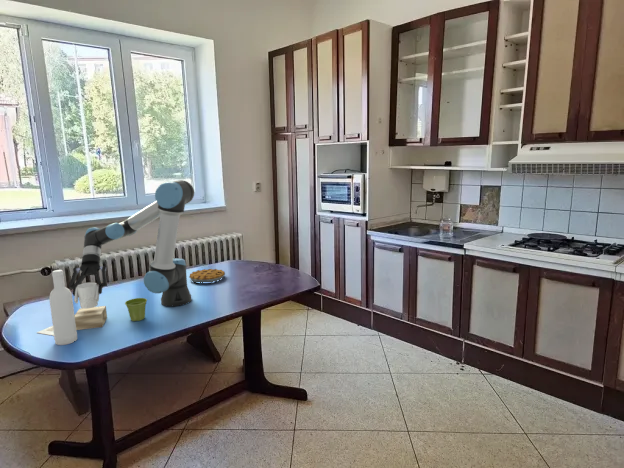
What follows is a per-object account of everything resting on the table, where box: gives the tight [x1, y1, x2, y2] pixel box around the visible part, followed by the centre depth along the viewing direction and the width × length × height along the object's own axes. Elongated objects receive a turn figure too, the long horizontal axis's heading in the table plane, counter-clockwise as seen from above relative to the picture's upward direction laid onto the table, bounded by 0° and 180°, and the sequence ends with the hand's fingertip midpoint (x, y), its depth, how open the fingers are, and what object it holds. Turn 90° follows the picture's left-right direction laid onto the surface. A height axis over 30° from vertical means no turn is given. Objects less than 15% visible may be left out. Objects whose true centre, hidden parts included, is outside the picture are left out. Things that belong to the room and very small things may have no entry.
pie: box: [188, 268, 226, 283], centre depth 244 cm, size 22×22×5 cm
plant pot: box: [124, 297, 148, 322], centre depth 183 cm, size 9×9×9 cm
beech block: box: [74, 305, 108, 331], centre depth 178 cm, size 11×11×6 cm
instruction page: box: [36, 325, 54, 337], centre depth 171 cm, size 12×9×1 cm
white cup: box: [77, 281, 99, 309], centre depth 177 cm, size 8×8×10 cm
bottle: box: [48, 269, 78, 346], centre depth 159 cm, size 8×8×30 cm
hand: (86, 301), depth 174 cm, fingers closed on white cup, 8 cm apart
